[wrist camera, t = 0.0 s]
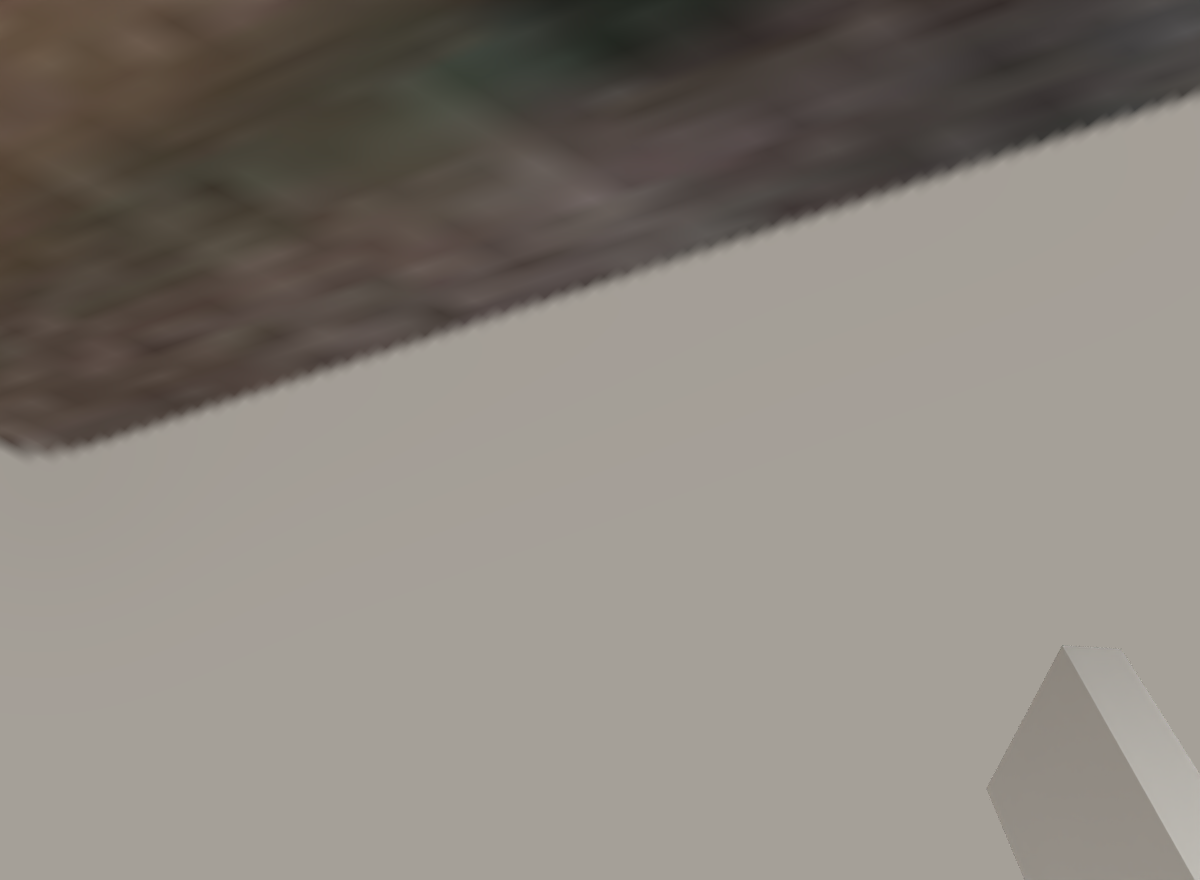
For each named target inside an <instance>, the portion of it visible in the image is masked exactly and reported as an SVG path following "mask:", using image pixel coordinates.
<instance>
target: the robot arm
mask: <svg viewBox="0 0 1200 880" xmlns="http://www.w3.org/2000/svg"><path fill="white" fill-rule="evenodd" d="M987 791H988V793H989V796H990V798H991V801H992V803H993V805H994V808H995V810H996V813H997V815H998V817H999V820H1000V822H1001V824H1002V827H1003V829H1004V832H1005V834H1006V837H1007V839H1008V841H1009V844H1010V846H1011V848H1012V851H1013V853H1014V856H1015V858H1016V860H1017V863H1018V865H1019V868H1020V870H1021V872H1022V875H1023V877H1024V880H1200V774H1199V772H1198V771H1197V769H1196V767H1195V766H1194V764H1193V763H1192V761H1191V759H1190V758H1189V756H1188V755H1187V753H1186V751H1185V750H1184V748H1183V747H1182V745H1181V743H1180V742H1179V740H1178V739H1177V737H1176V736H1175V734H1174V733H1173V731H1172V729H1171V727H1170V726H1169V724H1168V723H1167V721H1166V720H1165V718H1164V717H1163V715H1162V713H1161V712H1160V710H1159V708H1158V707H1157V705H1156V703H1155V702H1154V700H1153V699H1152V697H1151V696H1150V694H1149V692H1148V691H1147V689H1146V688H1145V686H1144V684H1143V683H1142V681H1141V679H1140V678H1139V676H1138V675H1137V673H1136V672H1135V670H1134V668H1133V667H1132V665H1131V663H1130V662H1129V661H1128V659H1127V657H1126V656H1125V654H1124V652H1123V651H1122V649H1117V648H1098V647H1081V646H1064V645H1063V646H1062V647H1061V649H1060V651H1059V653H1058V655H1057V657H1056V658H1055V660H1054V662H1053V664H1052V666H1051V668H1050V670H1049V672H1048V673H1047V675H1046V677H1045V679H1044V681H1043V683H1042V685H1041V687H1040V688H1039V691H1038V692H1037V694H1036V696H1035V698H1034V700H1033V702H1032V704H1031V705H1030V707H1029V709H1028V712H1027V713H1026V715H1025V717H1024V719H1023V721H1022V723H1021V724H1020V726H1019V728H1018V730H1017V732H1016V734H1015V736H1014V738H1013V739H1012V741H1011V743H1010V745H1009V747H1008V749H1007V751H1006V753H1005V755H1004V756H1003V758H1002V760H1001V762H1000V764H999V766H998V768H997V770H996V772H995V773H994V775H993V777H992V779H991V781H990V783H989V785H988V787H987Z"/></svg>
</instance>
